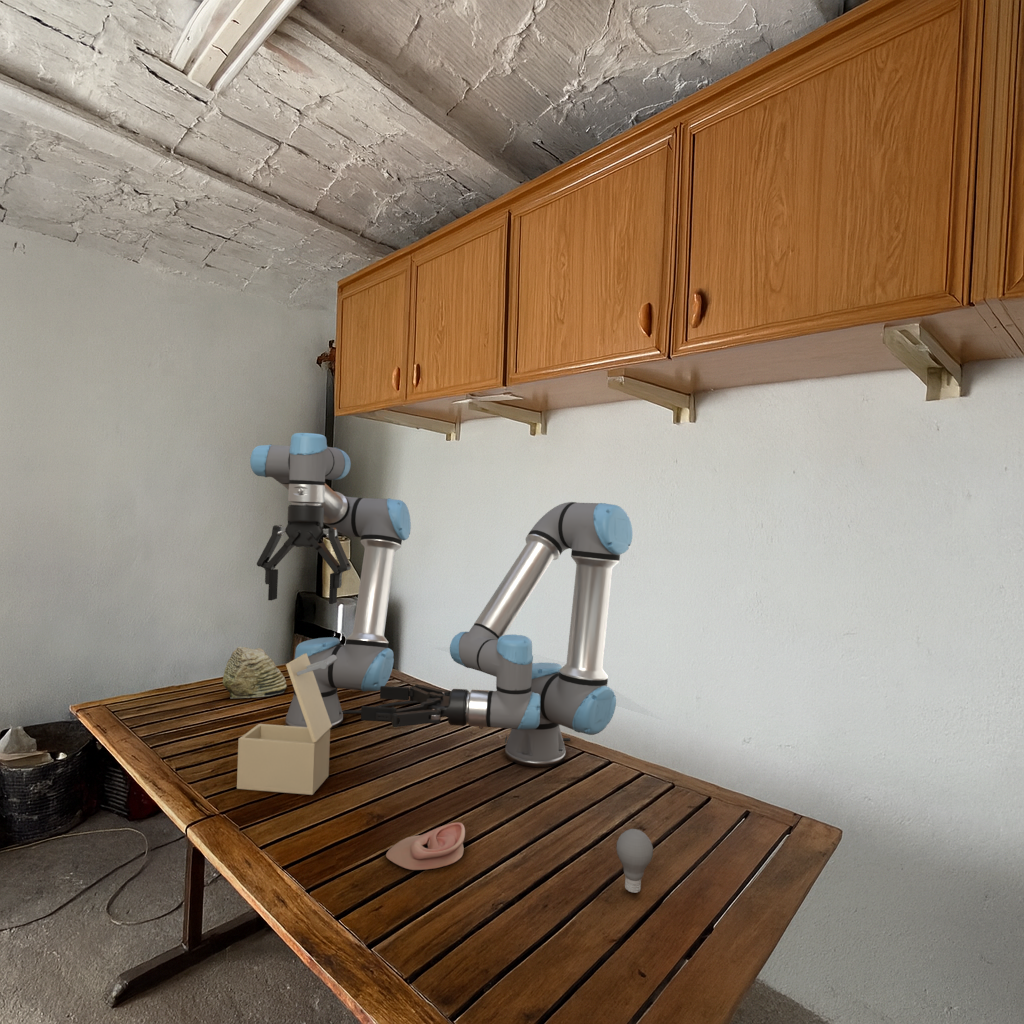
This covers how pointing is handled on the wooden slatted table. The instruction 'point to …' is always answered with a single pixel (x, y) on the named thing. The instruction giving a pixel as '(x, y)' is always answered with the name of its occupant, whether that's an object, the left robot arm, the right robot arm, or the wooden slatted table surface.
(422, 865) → the anatomical model
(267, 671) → the fossil
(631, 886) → the light bulb
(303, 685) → the lid
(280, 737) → the chest
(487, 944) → the wooden slatted table surface
